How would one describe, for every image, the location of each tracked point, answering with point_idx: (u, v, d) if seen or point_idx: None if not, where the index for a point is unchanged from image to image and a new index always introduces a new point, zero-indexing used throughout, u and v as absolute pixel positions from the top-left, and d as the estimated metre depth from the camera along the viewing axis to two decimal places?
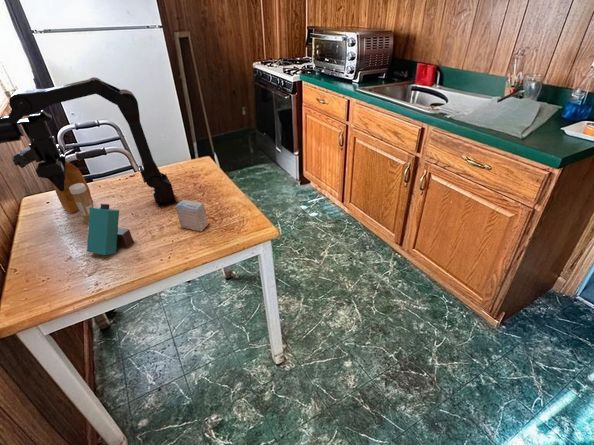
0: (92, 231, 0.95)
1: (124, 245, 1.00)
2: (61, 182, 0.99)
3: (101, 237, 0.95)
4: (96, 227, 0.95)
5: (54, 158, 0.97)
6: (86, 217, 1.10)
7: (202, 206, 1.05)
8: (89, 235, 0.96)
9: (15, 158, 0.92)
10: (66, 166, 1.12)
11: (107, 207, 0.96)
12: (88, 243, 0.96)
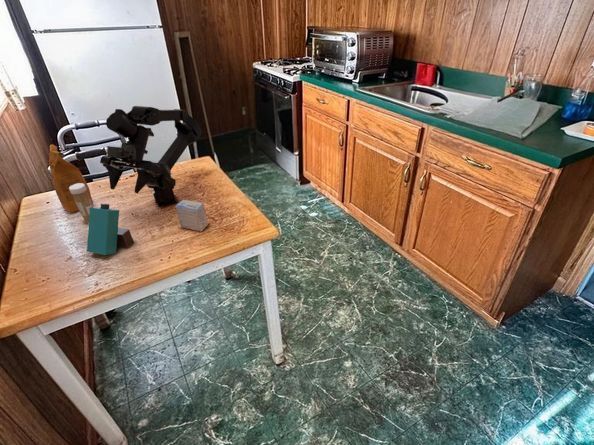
0: (92, 231, 0.95)
1: (124, 245, 1.00)
2: (143, 184, 1.03)
3: (101, 237, 0.95)
4: (96, 227, 0.95)
5: None
6: (86, 217, 1.10)
7: (202, 206, 1.05)
8: (89, 235, 0.96)
9: (128, 147, 0.97)
10: (66, 166, 1.12)
11: (107, 207, 0.96)
12: (88, 243, 0.96)
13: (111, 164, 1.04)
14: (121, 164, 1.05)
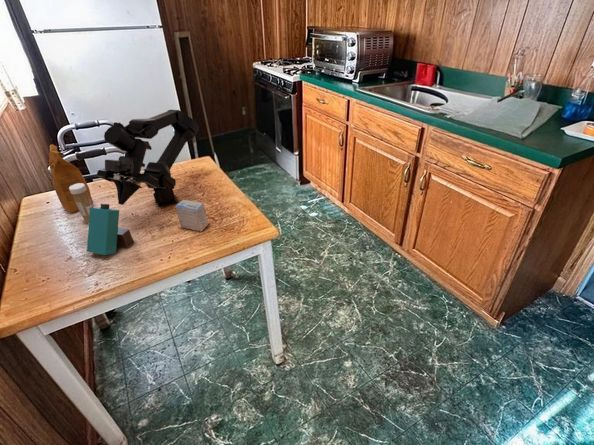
0: (92, 231, 0.95)
1: (124, 245, 1.00)
2: (129, 195, 1.03)
3: (101, 237, 0.95)
4: (96, 227, 0.95)
5: None
6: (86, 217, 1.10)
7: (202, 206, 1.05)
8: (89, 235, 0.96)
9: (126, 160, 0.96)
10: (66, 166, 1.12)
11: (107, 207, 0.96)
12: (88, 243, 0.96)
13: (119, 179, 1.02)
14: (130, 179, 1.03)
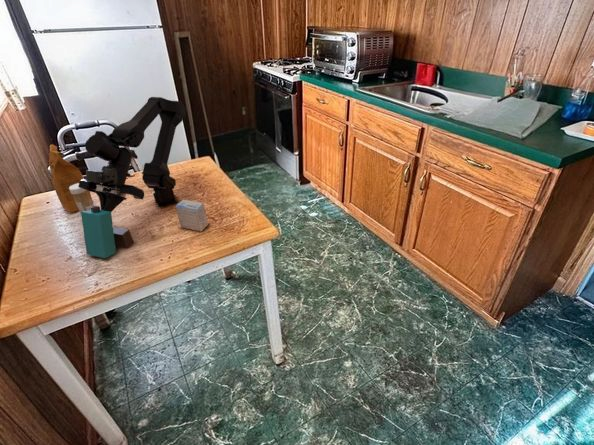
0: (88, 235, 0.94)
1: (124, 245, 1.00)
2: (113, 207, 0.98)
3: (97, 241, 0.94)
4: (91, 232, 0.93)
5: None
6: None
7: (202, 206, 1.05)
8: (86, 239, 0.95)
9: (109, 171, 0.91)
10: (66, 166, 1.12)
11: (98, 210, 0.93)
12: (86, 247, 0.96)
13: (103, 190, 0.96)
14: None
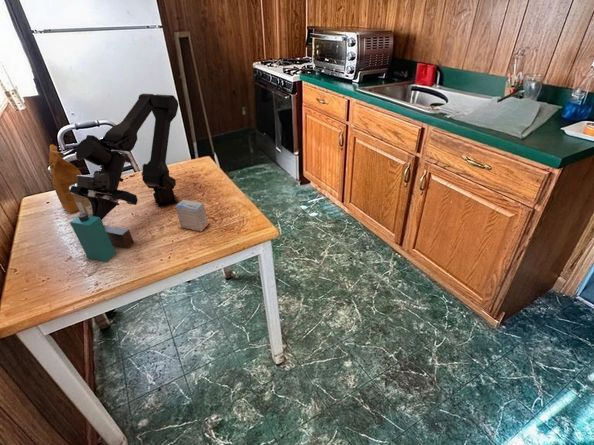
0: (83, 242, 0.93)
1: (124, 245, 1.00)
2: (105, 213, 0.95)
3: (94, 247, 0.93)
4: (85, 239, 0.92)
5: None
6: None
7: (202, 206, 1.05)
8: (82, 245, 0.94)
9: (101, 176, 0.88)
10: (66, 166, 1.12)
11: (86, 218, 0.90)
12: (85, 251, 0.95)
13: (95, 196, 0.94)
14: None
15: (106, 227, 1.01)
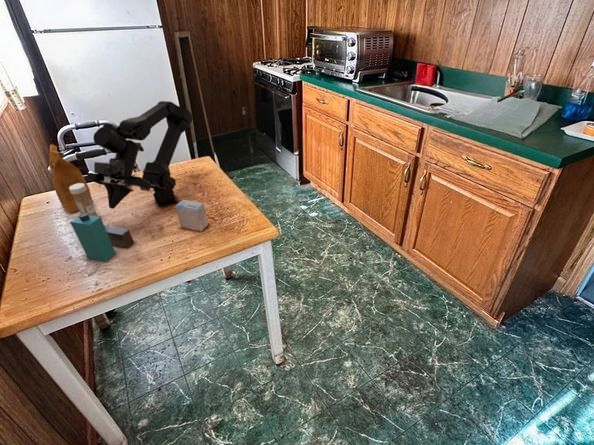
0: (83, 242, 0.93)
1: (124, 245, 1.00)
2: (120, 199, 1.00)
3: (94, 247, 0.93)
4: (86, 239, 0.92)
5: None
6: None
7: (202, 206, 1.05)
8: (83, 245, 0.94)
9: (117, 163, 0.93)
10: (66, 166, 1.12)
11: (87, 218, 0.90)
12: (85, 251, 0.95)
13: (110, 182, 0.98)
14: None
15: (106, 227, 1.01)
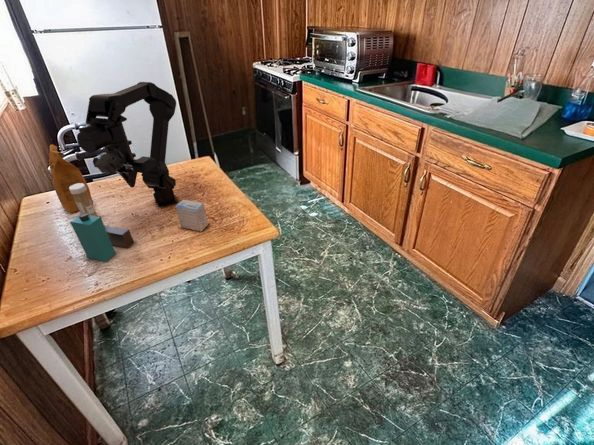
0: (83, 242, 0.93)
1: (124, 245, 1.00)
2: (135, 176, 1.05)
3: (94, 247, 0.93)
4: (86, 239, 0.92)
5: None
6: None
7: (202, 206, 1.05)
8: (83, 245, 0.94)
9: (115, 161, 0.93)
10: (66, 166, 1.12)
11: (87, 218, 0.90)
12: (85, 251, 0.95)
13: None
14: None
15: (106, 227, 1.01)
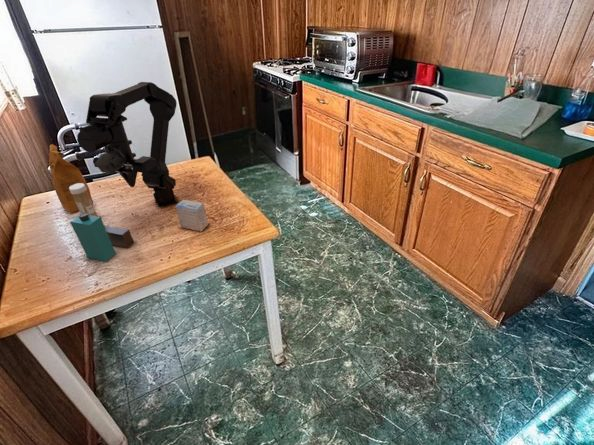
0: (83, 242, 0.93)
1: (124, 245, 1.00)
2: (135, 176, 1.05)
3: (94, 247, 0.93)
4: (86, 239, 0.92)
5: (133, 157, 1.01)
6: None
7: (202, 206, 1.05)
8: (83, 245, 0.94)
9: (116, 161, 0.93)
10: (66, 166, 1.12)
11: (87, 218, 0.90)
12: (85, 251, 0.95)
13: None
14: None
15: (106, 227, 1.01)
